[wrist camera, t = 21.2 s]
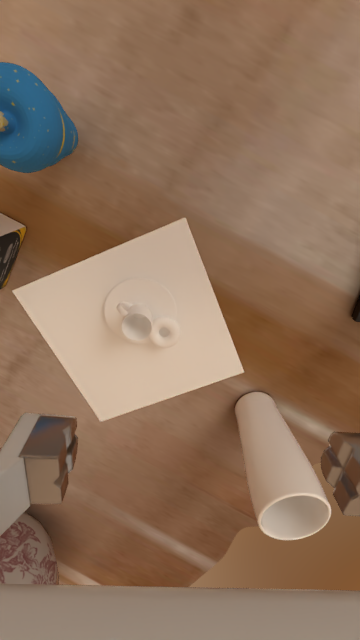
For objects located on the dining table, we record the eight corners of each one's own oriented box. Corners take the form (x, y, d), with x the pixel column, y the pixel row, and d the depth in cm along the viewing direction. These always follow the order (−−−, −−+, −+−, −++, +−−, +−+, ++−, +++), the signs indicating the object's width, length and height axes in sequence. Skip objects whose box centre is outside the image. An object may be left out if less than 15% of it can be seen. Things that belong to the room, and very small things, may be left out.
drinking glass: (246, 377, 40) (287, 483, 26) (289, 396, 42) (348, 507, 28) (218, 414, 42) (242, 529, 29) (260, 431, 44) (301, 548, 30)
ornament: (75, 90, 27) (-20, 11, 13) (112, 149, 29) (63, 132, 15) (29, 128, 28) (-102, 90, 14) (68, 182, 30) (-15, 194, 16)
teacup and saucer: (189, 333, 37) (191, 351, 33) (127, 356, 38) (123, 376, 34) (159, 265, 33) (158, 277, 30) (91, 292, 34) (82, 307, 31)
